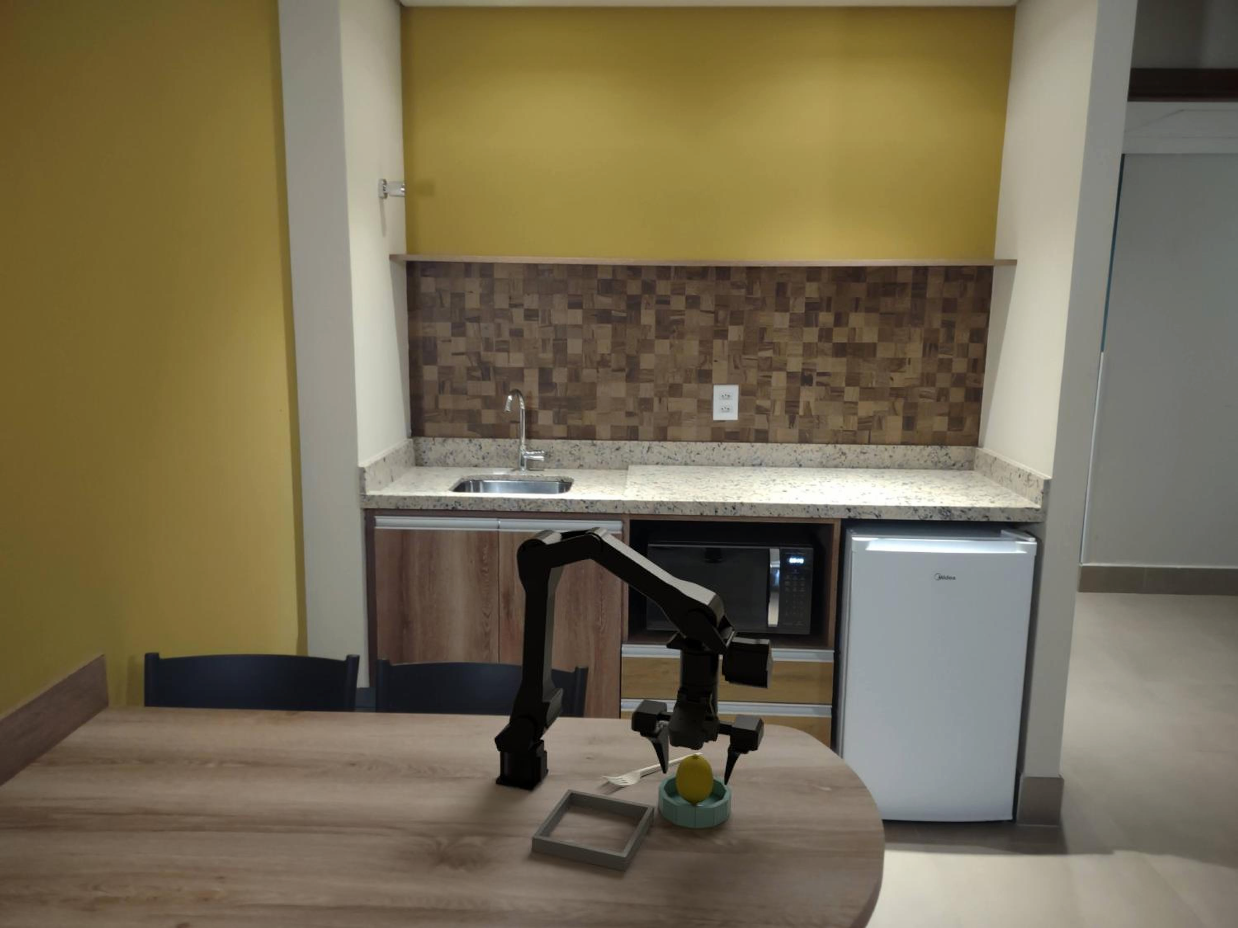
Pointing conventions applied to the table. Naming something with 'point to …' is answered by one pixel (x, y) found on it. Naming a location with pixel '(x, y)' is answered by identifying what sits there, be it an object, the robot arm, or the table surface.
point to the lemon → (694, 779)
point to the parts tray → (586, 852)
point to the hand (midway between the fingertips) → (695, 778)
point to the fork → (640, 773)
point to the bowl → (694, 815)
